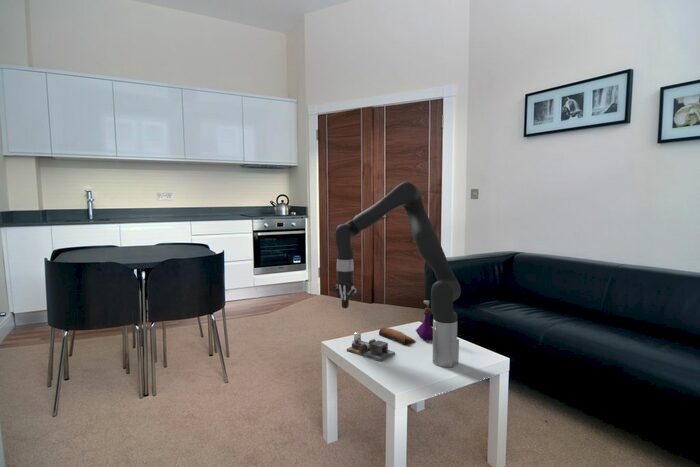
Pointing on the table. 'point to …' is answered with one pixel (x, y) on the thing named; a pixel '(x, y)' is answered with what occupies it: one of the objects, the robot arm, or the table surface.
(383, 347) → the plate
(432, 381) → the table surface
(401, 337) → the sunglasses case
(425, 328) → the perfume bottle
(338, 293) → the robot arm
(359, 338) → the steel bolt
